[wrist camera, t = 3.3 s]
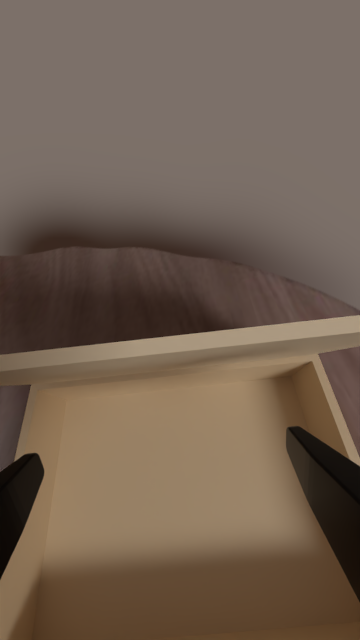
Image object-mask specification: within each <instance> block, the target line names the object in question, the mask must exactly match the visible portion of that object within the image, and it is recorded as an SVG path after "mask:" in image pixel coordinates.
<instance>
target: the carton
mask: <svg viewBox="0 0 360 640" xmlns="http://www.w3.org/2000/svg"><path fill="white" fill-rule="evenodd" d="M290 426H300V427H301V428H303V429H304V430H306V431H307V432H309V433H310V434H312V435H313V436H315V437H316V438H318V439H320V440H321V441H323V442H324V443H326V444H327V445H329V446H330V447H332V448H333V449H335V450H336V451H338V452H339V453H341V454H342V455H344V456H345V457H347V458H348V459H350V460H351V461H353V462H354V463H356V464H357V465H359V466H360V458H359V455H358V453H357V450H356V448H355V445H354V443H353V440H352V438H351V435H350V433H349V430H348V428H347V425H346V423H345V420H344V418H343V415H342V413H341V410H340V408H339V405H338V403H337V401H336V398H335V396H334V393H333V391H332V388H331V386H330V383H329V381H328V378H327V376H326V373H325V371H324V368H323V366H322V363H321V361H320V358H319V356H318V354H312V355H306V356H297V357H287V358H278V359H269V360H259V361H250V362H241V363H231V364H222V365H213V366H204V367H194V368H185V369H176V370H166V371H157V372H148V373H138V374H129V375H120V376H110V377H101V378H92V379H82V380H73V381H64V382H55V383H45V384H31V388H30V392H29V397H28V401H27V406H26V410H25V415H24V419H23V424H22V428H21V432H20V437H19V441H18V446H17V450H16V455H15V459H14V462H15V461H16V460H17V459H19V458H20V457H21V456H23V455H24V454H27V453H38V454H39V456H40V459H41V461H42V464H43V467H44V478H43V481H42V483H41V486H40V489H39V491H38V494H37V497H36V499H35V502H34V504H33V507H32V510H31V512H30V515H29V518H28V520H27V523H26V525H25V528H24V530H23V532H22V535H21V537H20V539H19V541H18V543H17V545H16V548H15V550H14V552H13V554H12V556H11V558H10V560H9V563H8V565H7V567H6V569H5V571H4V573H3V575H2V578H1V580H0V640H360V602H359V600H358V598H357V596H356V594H355V593H354V591H353V589H352V587H351V585H350V583H349V581H348V579H347V577H346V575H345V573H344V571H343V569H342V567H341V565H340V564H339V562H338V560H337V558H336V556H335V554H334V552H333V550H332V548H331V546H330V544H329V542H328V540H327V538H326V536H325V535H324V533H323V531H322V529H321V527H320V525H319V523H318V521H317V519H316V517H315V515H314V513H313V511H312V509H311V507H310V505H309V503H308V501H307V499H306V497H305V494H304V492H303V490H302V487H301V485H300V482H299V480H298V477H297V475H296V472H295V470H294V467H293V465H292V463H291V460H290V458H289V455H288V453H287V449H286V429H287V427H290Z"/></svg>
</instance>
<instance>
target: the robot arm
mask: <svg viewBox="0 0 360 640" xmlns="http://www.w3.org/2000/svg"><path fill="white" fill-rule="evenodd" d="M286 449H287V453H288V455H289V458H290V460H291V463H292V465H293V467H294V470H295V472H296V475H297V477H298V480H299V482H300V485H301V487H302V490H303V492H304V494H305V497H306V499H307V501H308V503H309V505H310V507H311V509H312V511H313V513H314V515H315V517H316V519H317V521H318V523H319V525H320V527H321V529H322V531H323V533H324V535H325V536H326V538H327V540H328V542H329V544H330V546H331V548H332V550H333V552H334V554H335V556H336V558H337V560H338V562H339V564H340V565H341V567H342V569H343V571H344V573H345V575H346V577H347V579H348V581H349V583H350V585H351V587H352V589H353V591H354V593H355V594H356V596H357V598H358V600H359V602H360V466H359V465H357V464H356V463H354V462H353V461H351V460H350V459H348V458H347V457H345V456H344V455H342V454H341V453H339V452H338V451H336V450H335V449H333V448H332V447H330V446H329V445H327V444H326V443H324V442H323V441H321V440H320V439H318V438H316V437H315V436H313V435H312V434H310V433H309V432H307V431H306V430H304V429H303V428H301V427H300V426H290V427H287V429H286ZM43 478H44V467H43V464H42V461H41V459H40V456H39V454H38V453H27V454H24V455H23V456H21V457H20V458H19V459H17V460H16V461H15V462H13V463H12V464H11V465H9V466H8V467H7V468H5V469H4V470H2V471H1V472H0V580H1V578H2V575H3V573H4V571H5V569H6V567H7V565H8V563H9V560H10V558H11V556H12V554H13V552H14V550H15V548H16V545H17V543H18V541H19V539H20V537H21V535H22V532H23V530H24V528H25V525H26V523H27V520H28V518H29V515H30V512H31V510H32V507H33V504H34V502H35V499H36V497H37V494H38V491H39V489H40V486H41V483H42V481H43Z"/></svg>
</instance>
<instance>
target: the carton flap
mask: <svg viewBox="0 0 360 640" xmlns="http://www.w3.org/2000/svg"><path fill="white" fill-rule="evenodd" d="M357 346H360V315H358V316H349V317H340V318H331V319H322V320H312V321H303V322H294V323H285V324H276V325H267V326H258V327H249V328H240V329H231V330H222V331H213V332H204V333H195V334H186V335H176V336H167V337H158V338H149V339H140V340H131V341H122V342H113V343H104V344H95V345H86V346H77V347H68V348H59V349H50V350H41V351H31V352H22V353H13V354H4V355H0V386H11V385H30V384H45V383H55V382H64V381H73V380H82V379H92V378H101V377H110V376H120V375H129V374H138V373H148V372H157V371H166V370H176V369H185V368H194V367H204V366H213V365H222V364H231V363H241V362H250V361H259V360H269V359H278V358H287V357H297V356H306V355H312V354H318V353H323V352H329V351H334V350H340V349H346V348H351V347H357Z"/></svg>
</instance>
